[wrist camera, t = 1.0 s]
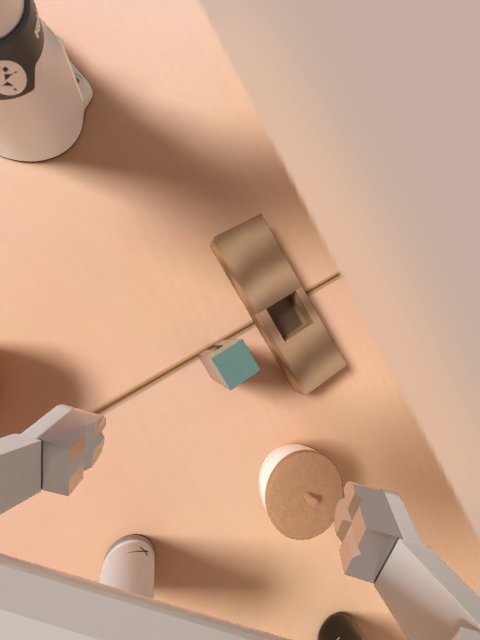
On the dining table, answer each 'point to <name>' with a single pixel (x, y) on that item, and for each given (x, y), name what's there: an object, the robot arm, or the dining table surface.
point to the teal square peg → (229, 362)
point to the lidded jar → (300, 490)
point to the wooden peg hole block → (278, 304)
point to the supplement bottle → (340, 629)
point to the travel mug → (130, 566)
